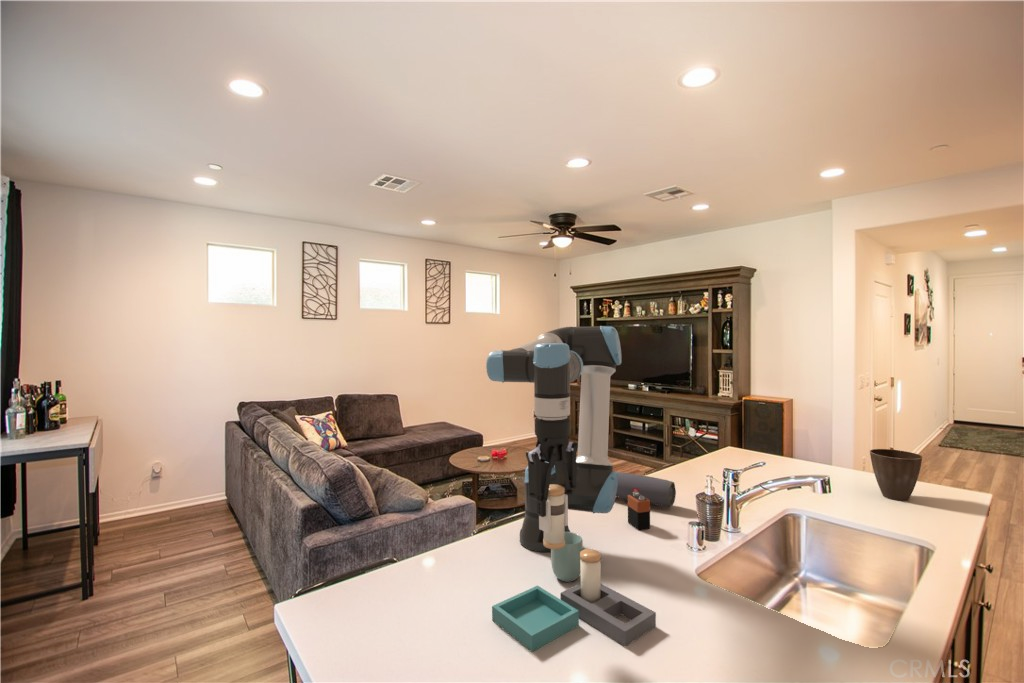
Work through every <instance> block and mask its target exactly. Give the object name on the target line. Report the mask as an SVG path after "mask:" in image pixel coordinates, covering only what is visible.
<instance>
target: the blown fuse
mask: <svg viewBox="0 0 1024 683" xmlns="http://www.w3.org/2000/svg"><path fill="white" fill-rule="evenodd" d="M564 493H565V488H564V487H563V486H561V485H556V484H551V485H549V492H548V499H547V500H550V501H551V532H550V533H547V532H545V531H544V539H543V545H544V546H545V547H546V548H548V549H561V548H563V547H565V525H564V512H565V502H564Z"/></svg>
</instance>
